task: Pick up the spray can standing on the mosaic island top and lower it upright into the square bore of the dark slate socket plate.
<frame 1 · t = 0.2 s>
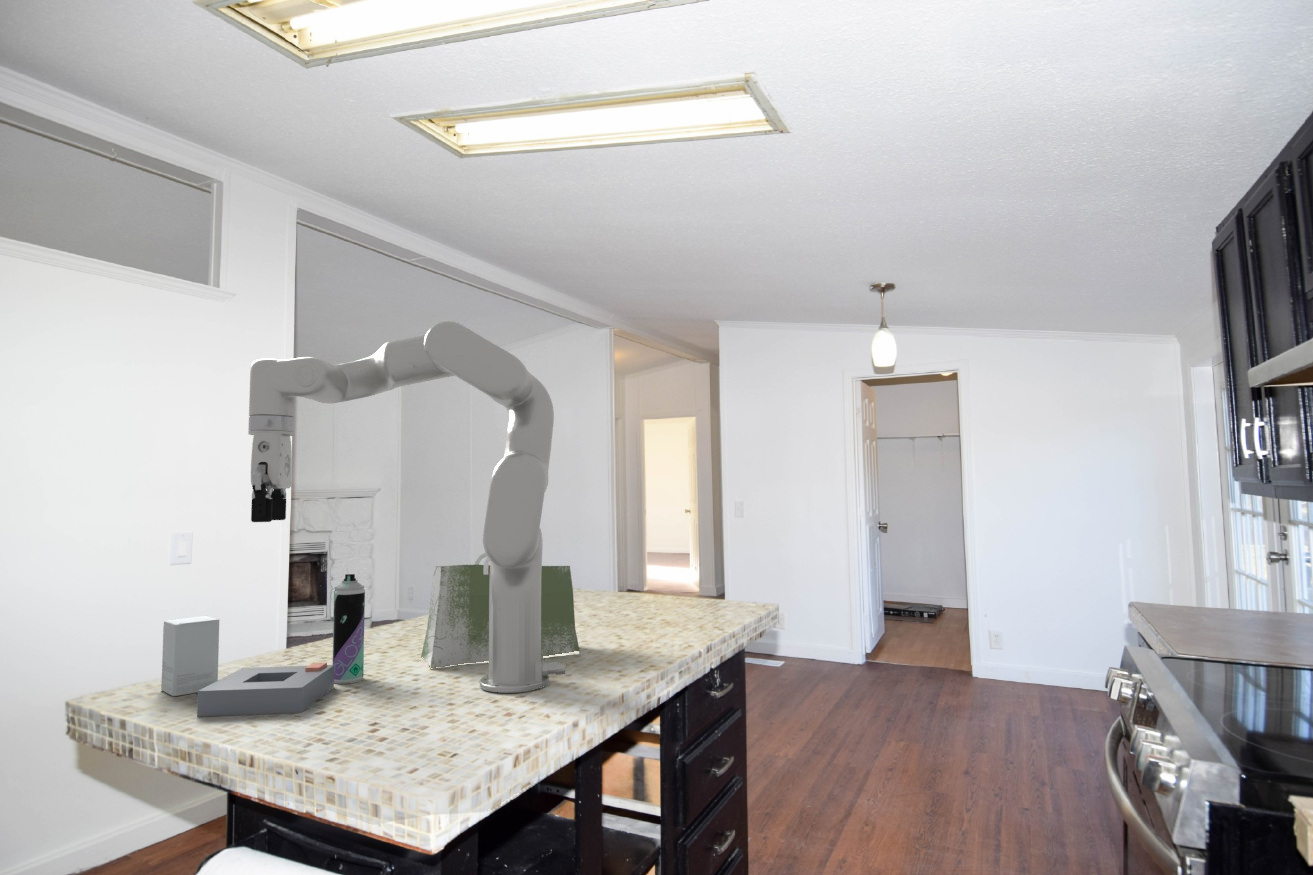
hand: (269, 520, 136), 31 cm above the counter, tool pointing down, fingers open, 9 cm apart
socket plate: (270, 700, 128), on the counter
grocery bag: (500, 657, 162), on the counter
supplement box: (189, 690, 137), on the counter
spray can: (347, 681, 142), on the counter
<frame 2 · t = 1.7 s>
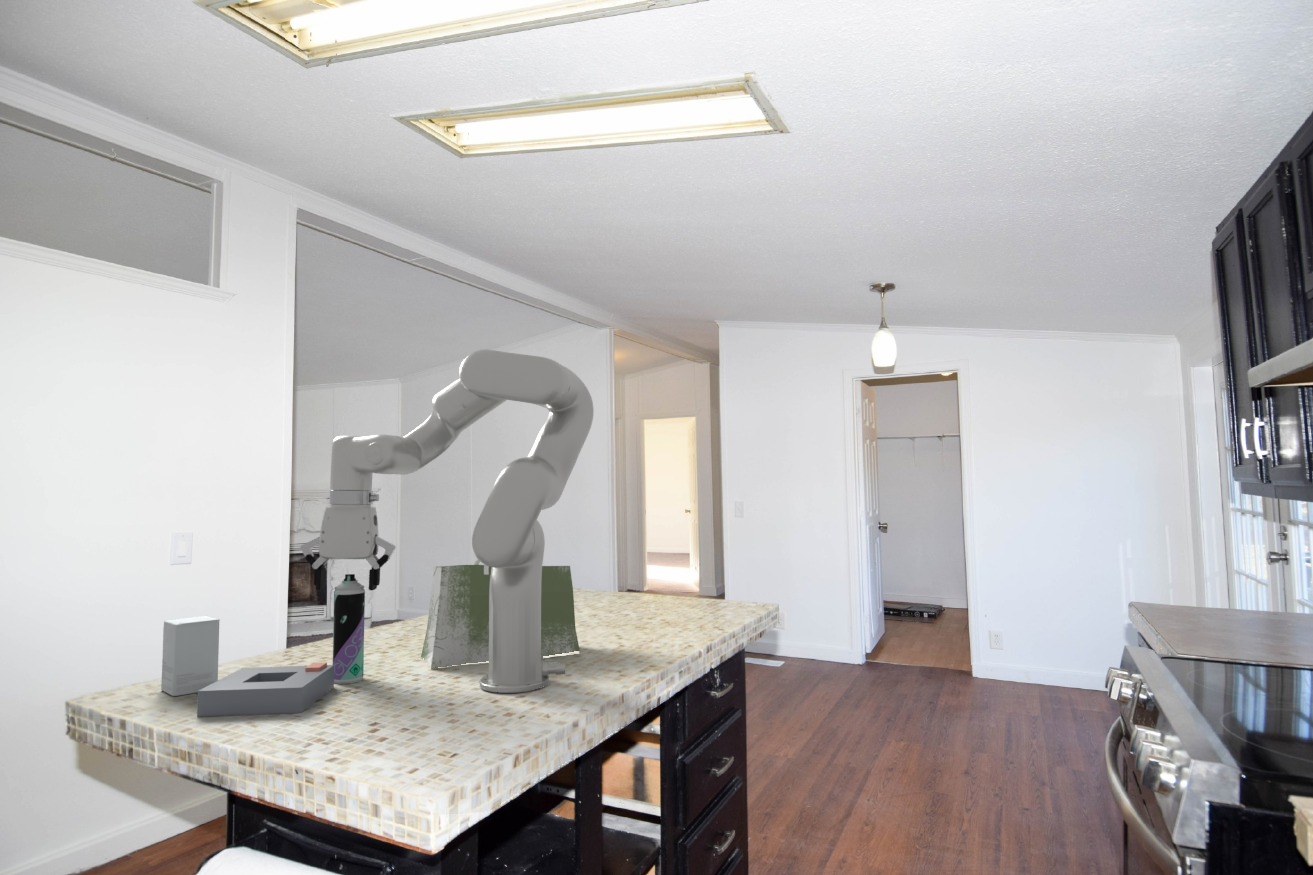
hand: (346, 589, 144), 17 cm above the counter, tool pointing down, fingers open, 9 cm apart
nothing on the counter moved.
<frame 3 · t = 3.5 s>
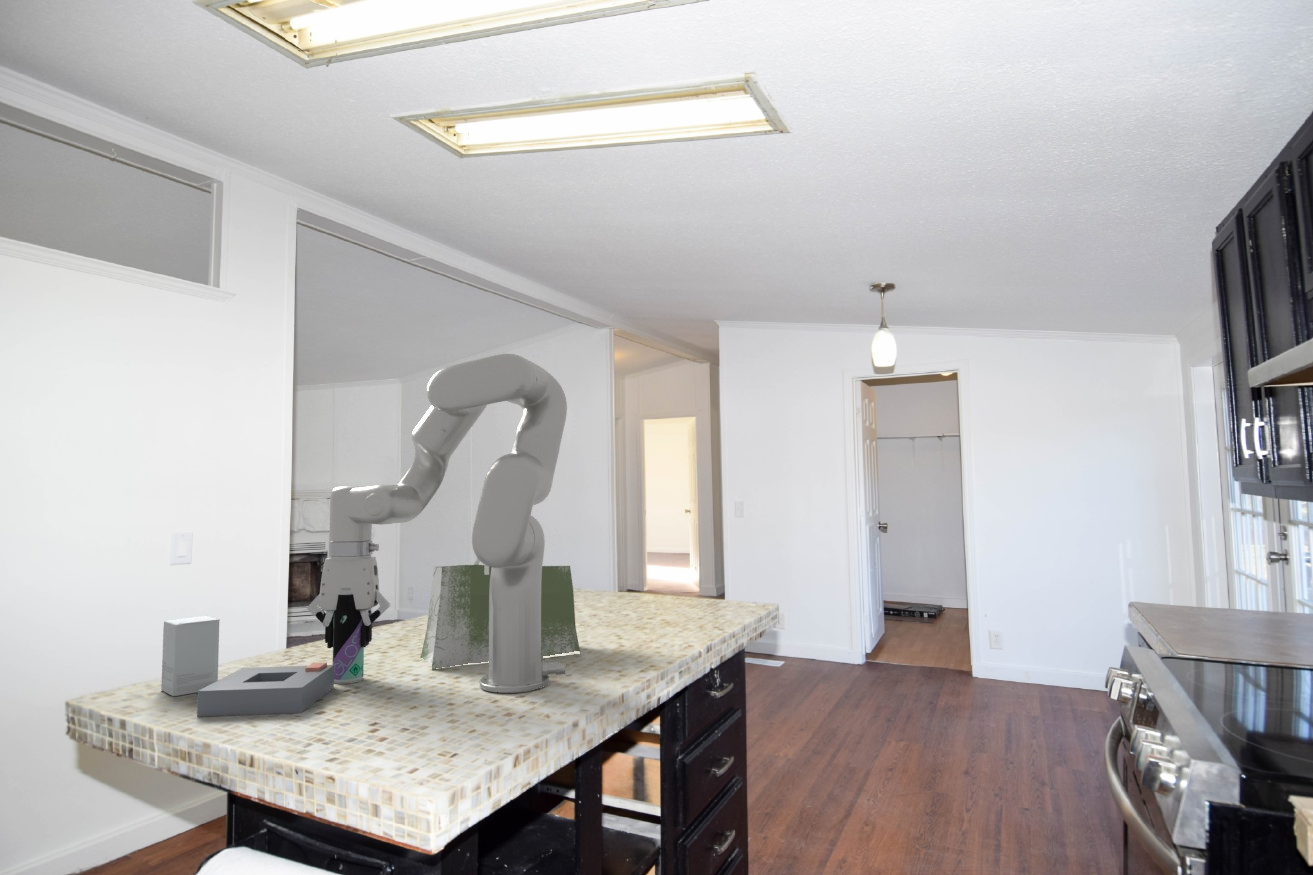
hand: (348, 645, 143), 7 cm above the counter, tool pointing down, fingers closed on spray can, 5 cm apart
spray can: (347, 681, 142), on the counter, touching gripper
everything else where it was.
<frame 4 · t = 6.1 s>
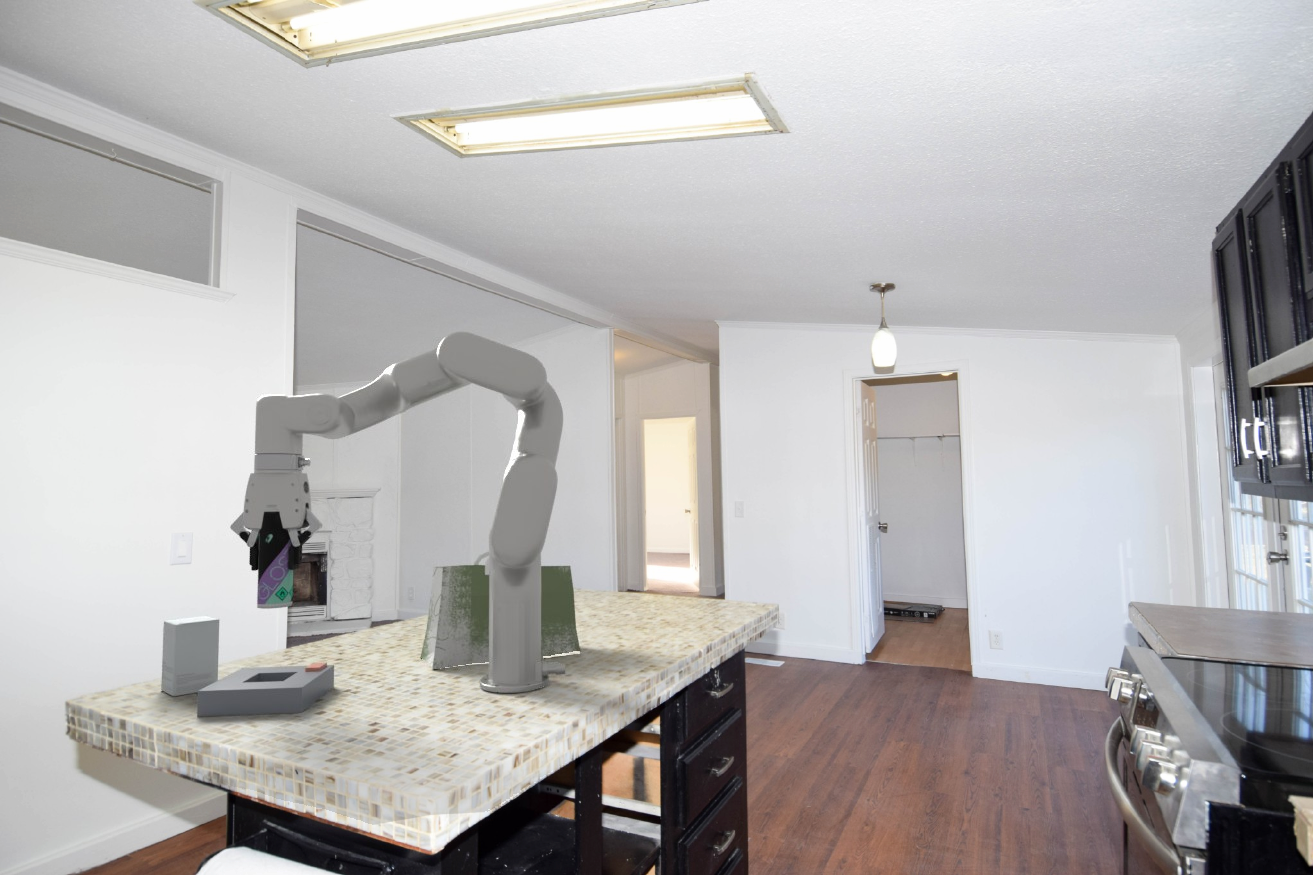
hand: (275, 568, 130), 22 cm above the counter, tool pointing down, fingers closed on spray can, 5 cm apart
spray can: (274, 607, 130), point 16 cm above the counter, touching gripper
everything else where it was.
when the fingers open (8 cm above the counter, at t = 8.9 s): spray can drops 1 cm, resting in socket plate.
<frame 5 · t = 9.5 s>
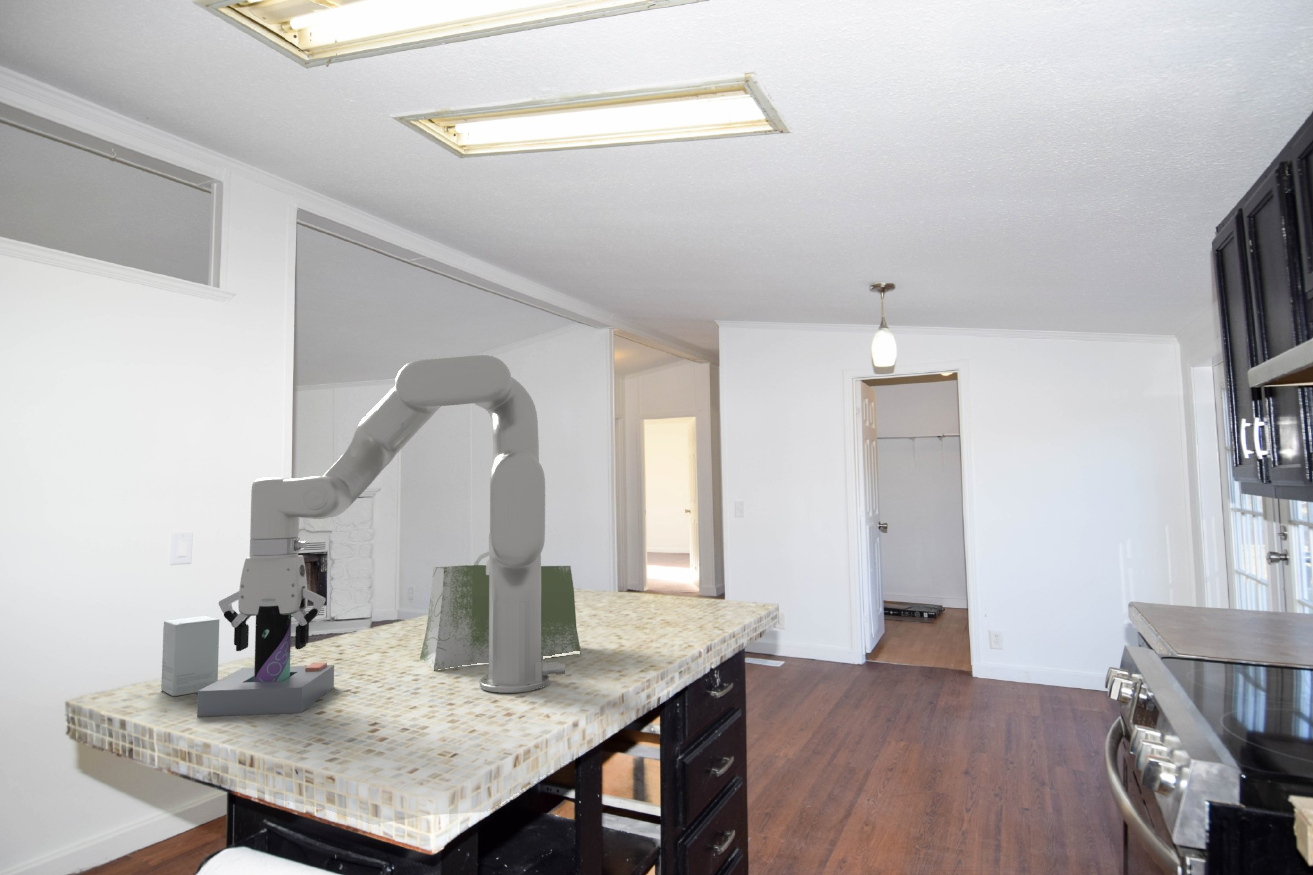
hand: (271, 648, 129), 9 cm above the counter, tool pointing down, fingers open, 9 cm apart
spray can: (271, 701, 128), resting in socket plate
everything else where it was.
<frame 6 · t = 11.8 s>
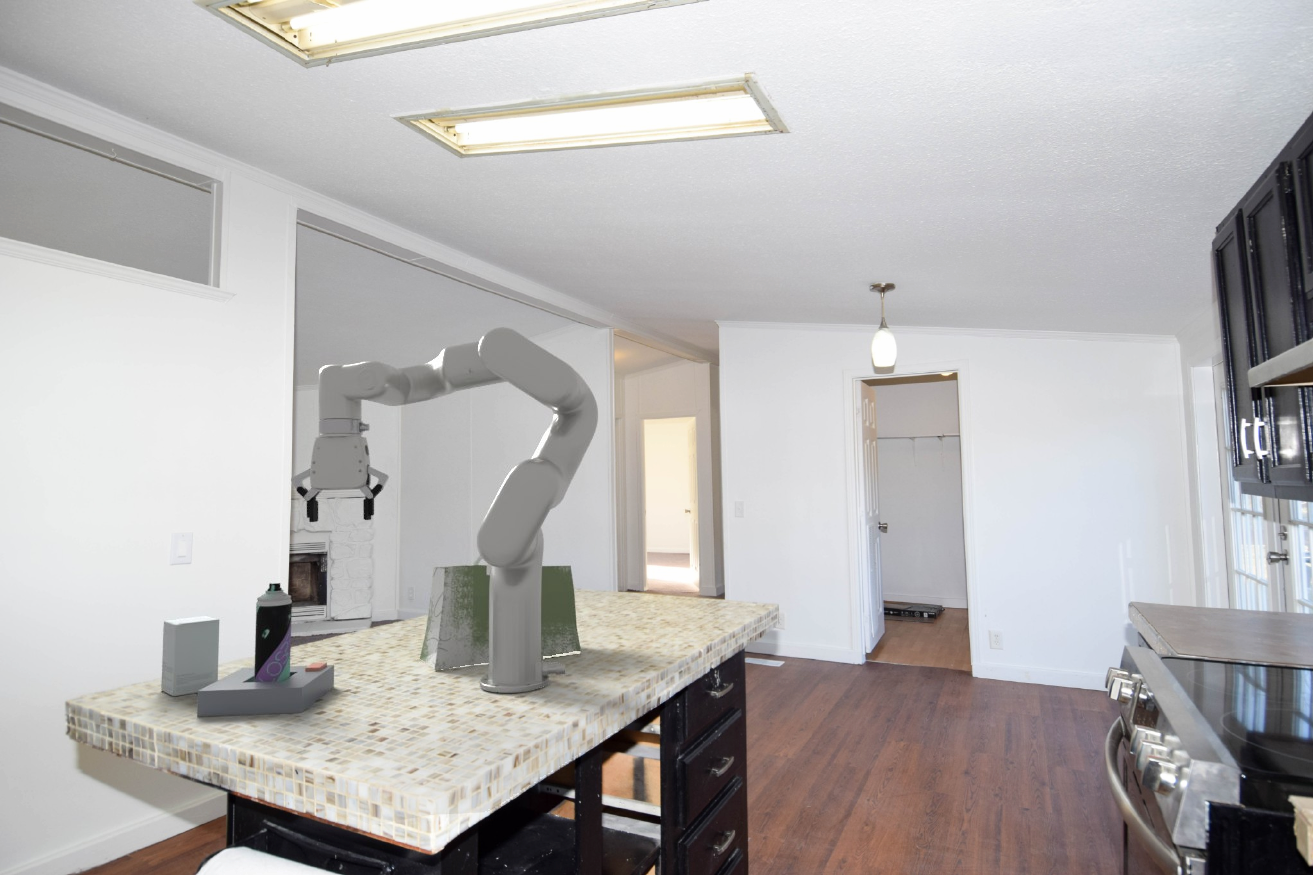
hand: (340, 520, 141), 30 cm above the counter, tool pointing down, fingers open, 9 cm apart
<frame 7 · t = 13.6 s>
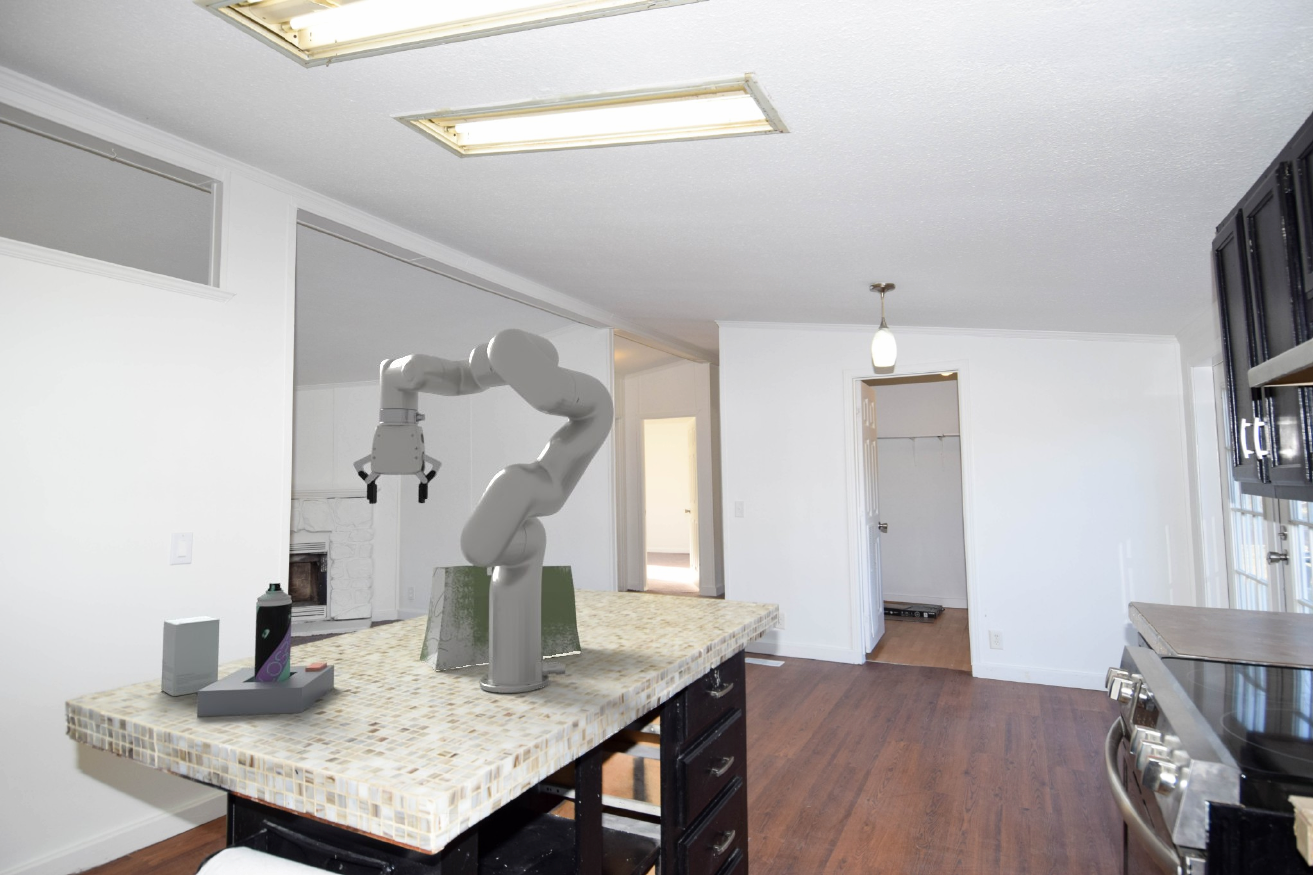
hand: (397, 503, 152), 33 cm above the counter, tool pointing down, fingers open, 9 cm apart
at the end: spray can 0.2 cm from the socket plate (horizontally); spray can resting in socket plate; spray can tilted 0° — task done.
